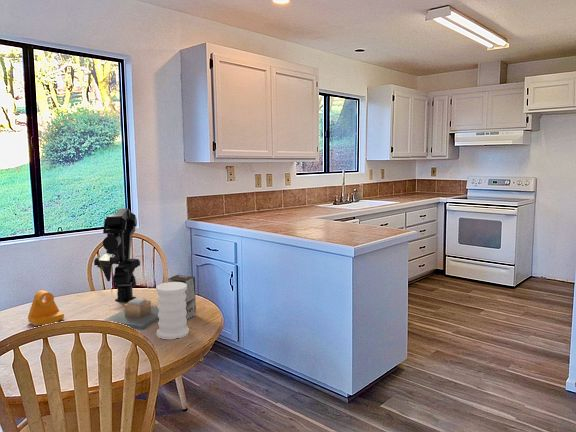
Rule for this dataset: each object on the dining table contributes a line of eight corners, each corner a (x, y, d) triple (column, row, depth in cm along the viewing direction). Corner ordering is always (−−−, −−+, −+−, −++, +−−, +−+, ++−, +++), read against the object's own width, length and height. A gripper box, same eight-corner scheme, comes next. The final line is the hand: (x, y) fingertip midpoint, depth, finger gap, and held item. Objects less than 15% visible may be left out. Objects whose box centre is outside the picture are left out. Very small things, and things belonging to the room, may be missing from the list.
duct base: (134, 306, 192) (134, 290, 191) (171, 311, 186) (171, 294, 185) (102, 323, 173) (101, 305, 172) (142, 329, 167) (141, 310, 166)
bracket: (35, 328, 168) (33, 297, 166) (28, 323, 173) (26, 293, 171) (65, 320, 176) (63, 290, 174) (57, 315, 181) (55, 287, 179)
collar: (124, 316, 177) (124, 304, 176) (136, 310, 184) (135, 298, 183) (140, 318, 175) (139, 306, 174) (151, 312, 182) (150, 300, 181)
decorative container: (163, 342, 156) (161, 293, 153) (152, 332, 165) (150, 284, 162) (194, 335, 162) (193, 287, 160) (181, 325, 172) (180, 279, 169)
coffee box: (196, 315, 182) (195, 276, 180) (186, 320, 177) (185, 280, 174) (178, 311, 186) (177, 274, 184) (168, 316, 180) (167, 278, 178)
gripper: (83, 247, 179) (85, 285, 181) (122, 251, 174) (124, 289, 176) (102, 242, 190) (104, 278, 192) (140, 245, 184) (141, 282, 187)
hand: (118, 282), depth 186 cm, fingers open, 9 cm apart
